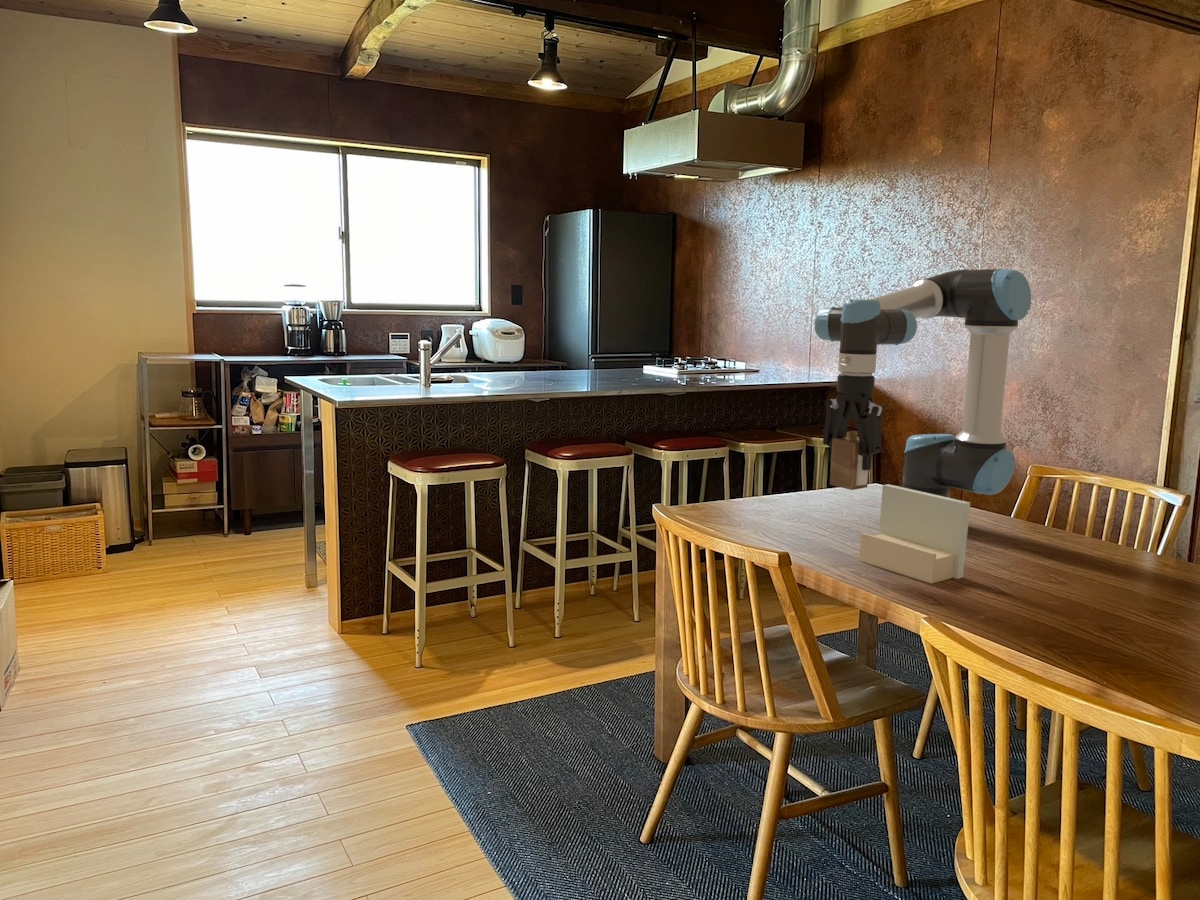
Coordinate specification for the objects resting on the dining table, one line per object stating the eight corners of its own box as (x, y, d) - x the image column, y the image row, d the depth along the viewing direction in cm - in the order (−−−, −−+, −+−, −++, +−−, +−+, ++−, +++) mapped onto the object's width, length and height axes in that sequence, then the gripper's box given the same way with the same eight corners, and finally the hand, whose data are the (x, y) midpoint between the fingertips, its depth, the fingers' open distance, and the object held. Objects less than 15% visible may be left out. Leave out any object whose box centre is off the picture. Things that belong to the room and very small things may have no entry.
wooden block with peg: (844, 482, 189) (848, 428, 186) (867, 487, 184) (871, 432, 182) (829, 484, 186) (832, 430, 184) (851, 490, 181) (855, 434, 179)
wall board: (882, 553, 195) (888, 484, 193) (962, 577, 179) (970, 502, 177) (855, 559, 190) (860, 488, 187) (935, 585, 174) (942, 508, 171)
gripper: (809, 370, 186) (802, 475, 190) (882, 378, 171) (874, 492, 175) (832, 369, 190) (825, 472, 194) (906, 377, 175) (897, 488, 179)
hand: (848, 481), depth 185 cm, fingers closed on wooden block with peg, 6 cm apart
